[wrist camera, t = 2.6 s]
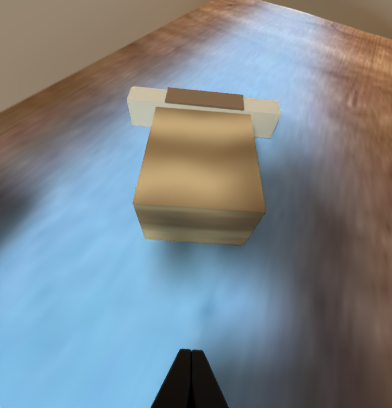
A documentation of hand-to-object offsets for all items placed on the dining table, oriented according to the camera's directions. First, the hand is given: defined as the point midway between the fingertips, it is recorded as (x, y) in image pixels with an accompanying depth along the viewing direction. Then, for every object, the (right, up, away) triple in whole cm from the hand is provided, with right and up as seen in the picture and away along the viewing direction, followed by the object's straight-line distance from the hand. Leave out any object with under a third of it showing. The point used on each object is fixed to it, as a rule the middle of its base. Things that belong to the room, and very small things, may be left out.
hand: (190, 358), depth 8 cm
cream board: (+1, +17, +24) cm, 29 cm away
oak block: (0, +7, +17) cm, 19 cm away
